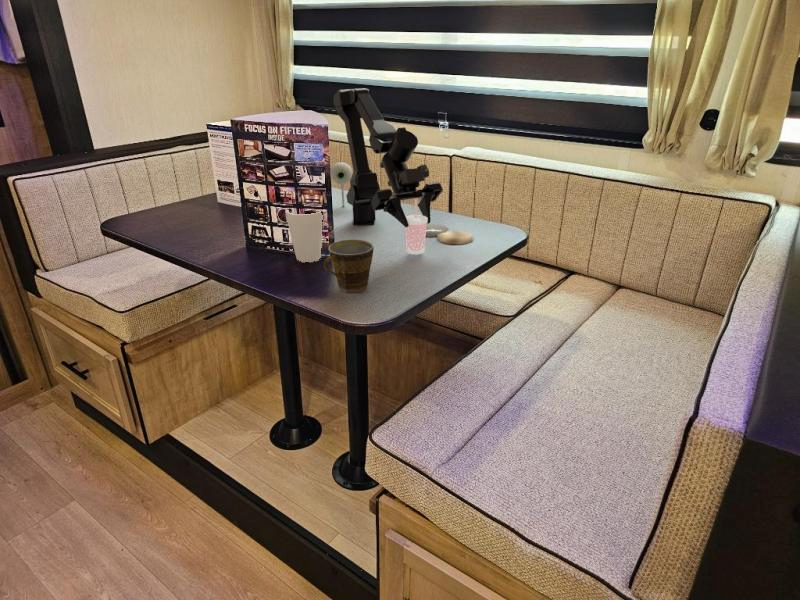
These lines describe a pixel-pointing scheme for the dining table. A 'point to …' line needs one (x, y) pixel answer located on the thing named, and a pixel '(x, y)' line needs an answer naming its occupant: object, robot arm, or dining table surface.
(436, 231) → the grey dome cap
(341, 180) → the lollipop
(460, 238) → the shiny gold rounded object
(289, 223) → the foam cup
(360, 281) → the ceramic cup
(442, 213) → the dining table surface
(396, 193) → the robot arm
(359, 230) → the dining table surface
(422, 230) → the beverage cup
